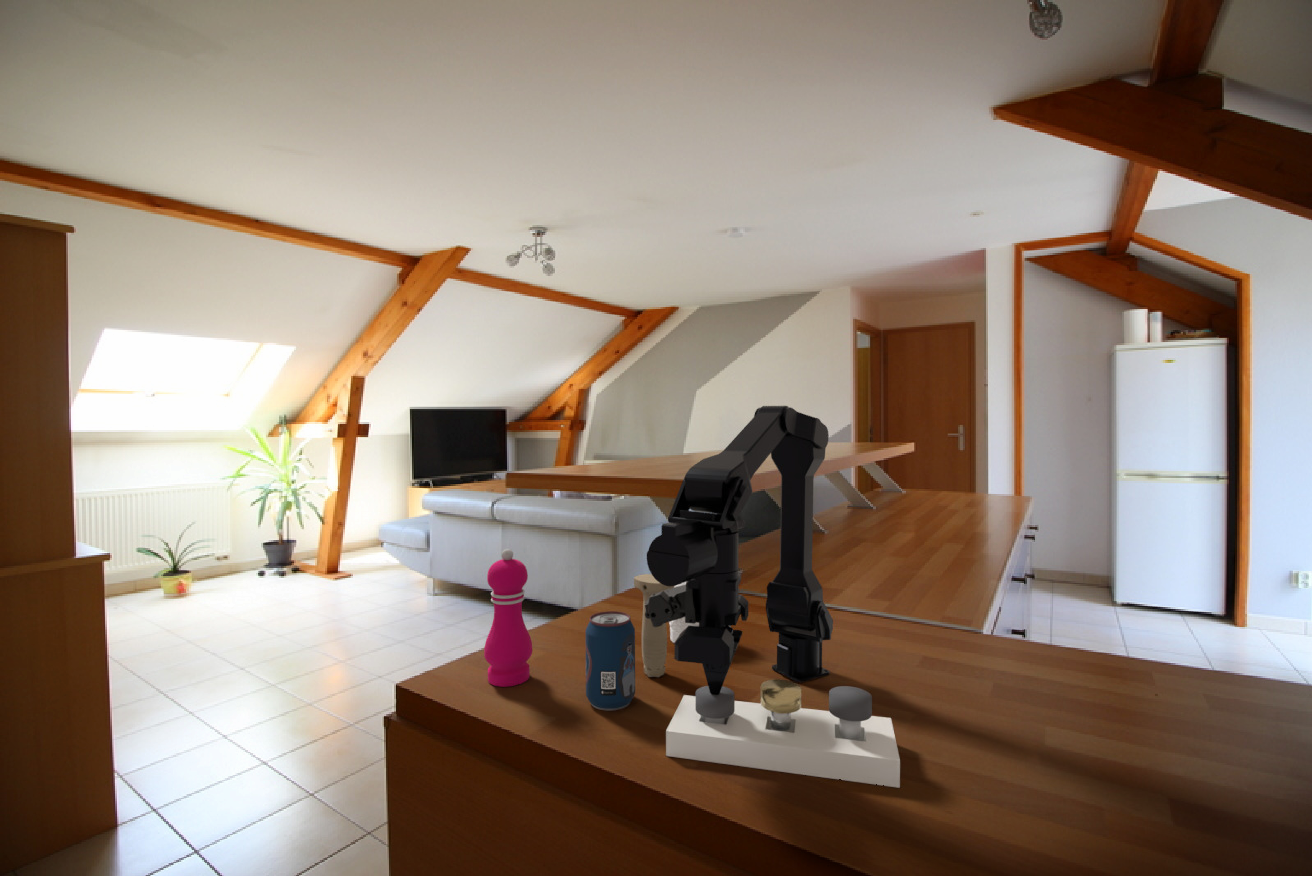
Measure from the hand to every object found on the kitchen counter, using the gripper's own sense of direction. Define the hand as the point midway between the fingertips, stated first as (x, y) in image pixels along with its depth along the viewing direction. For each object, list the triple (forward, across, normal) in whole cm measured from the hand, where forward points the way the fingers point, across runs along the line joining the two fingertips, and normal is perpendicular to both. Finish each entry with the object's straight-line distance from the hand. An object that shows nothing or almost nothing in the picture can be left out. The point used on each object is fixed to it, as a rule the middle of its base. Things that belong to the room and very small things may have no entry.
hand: (715, 693), depth 79 cm
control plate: (+6, 0, +8) cm, 10 cm away
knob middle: (+3, 0, +8) cm, 9 cm away
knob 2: (+3, 0, +16) cm, 16 cm away
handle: (+6, -18, -12) cm, 22 cm away
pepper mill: (+6, -11, -34) cm, 36 cm away
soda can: (+6, -7, -16) cm, 18 cm away
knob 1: (+5, 0, 0) cm, 5 cm away
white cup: (+6, -34, -10) cm, 36 cm away
